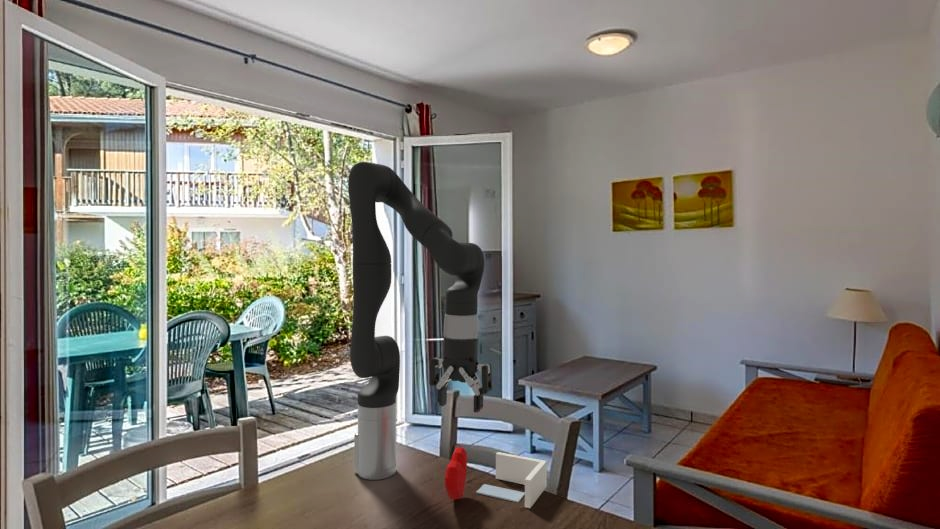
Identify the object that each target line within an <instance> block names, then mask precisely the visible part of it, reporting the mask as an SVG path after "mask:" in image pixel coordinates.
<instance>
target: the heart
mask: <svg viewBox="0 0 940 529" xmlns="http://www.w3.org/2000/svg"><path fill="white" fill-rule="evenodd" d="M467 466H468V452H467V451H466V450H465V447H463V446H457V447H456V448H455V449H454V451H453V453H452V455H451V459H450V462H449V463H448V464H447V467H446V469H445V476H444V486H445V490H446V494H447V496H448V497H449V499H450V500H453V501H454V500H461V499H462V498H463V497H464V492H465V486H466V479H467Z"/></svg>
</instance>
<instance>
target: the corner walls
mask: <svg viewBox="0 0 940 529" xmlns="http://www.w3.org/2000/svg"><path fill="white" fill-rule="evenodd" d="M547 465H548V462H547V460H544V459H543V460H542V459H538V458H532V457H526V456H521V455H517V454H511V453H504V452H500V451H497V452H496V453H495V479H496V480H500V481H501V480H502V481H505V482H510V483H516V484H520V485H524V493H525V495H524V508H527V509H531V507H533V505H534V504H535V503H536V502H537V500H538V499H539V498H540V496H541V494H543V493H544V491H545V489H546V488H547V480H548V478H547V467H548V466H547Z"/></svg>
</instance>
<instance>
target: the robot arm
mask: <svg viewBox="0 0 940 529" xmlns="http://www.w3.org/2000/svg"><path fill="white" fill-rule="evenodd" d="M347 181H348V182H347V183H348V185H347V186H348V187H347V188H348V199H349V208H350V219H351V231H352V235H351V236H352V288H353V289H352V291H353V293H352V295H353V296H352V302H353V303H352V324H351V332H350V333H351V335H350V347H349V358H350V360H349V361H350V365H351V366H350V367H351V368H352V371H353V373H354V374H355V376H356V377H358V378H360V379H369V378H371V379H370V381H368V382H367V384H366V385H365V386H364V387H362V388H361V389H360V390H359V391H358V393H357V432H356V433H355V434H354V439H353V440H354V443H353V444H354V445H353V446H354V448H353V449H354V474H357V475H358V476H359V477H360V478H362V479H364V480H371V481H374V480H375V481H376V480H378V481H379V480H383V479H387V478H390V477H392V476H393V475H394V476H395V474H396V472H397V394H398V392H399V388H400V371H401V353H400V348H399V345H398V343H397V341H396V340H395V339H394V337H392V336H390V335H379V336H376V322H377V319H378V318H377V317H378V315H379V312H380V310H381V308H382V305H383V303H384V302H385V300H386V298H387V295H388V293H389V291H390V289H391V284H392V255H391V251H390V249H389V247H388V245H387V242H386V240H385V237H384V236H383V234H382V232H381V230H380V228H379V224H378V220H377V211H376V208H377V207H376V203H383V204H385V205H386V206H388V207H390V208H392V209H393V210H394V211H395V212H396V213H398V214H399V215H400V217H401V220H402V222H403V224H404V226H405V229H406V230H407V232H408V233H409V234H410V235H411V236H412V237H413V238H414V239H415V240H417V241H418V242H419V244H420V245H421V246H423V247H424V248H425V249H426V250H427V252H428V253H429V255H430V256H431V258H432V259H433V261H434V262H435V264H436V265H437V266H438V267H439V268H440V269H441V270H442V271H443V272H445V273H446V274H448V275H451V276H455V281H454V284H453V285H452V286H450V287H449V288H447V289H446V292H445V296H444V297H445V302H444V303H445V304H444V308H445V309H444V322H443V350H442V351H443V354H442V355H443V356H444V357H443V358H441V357H440V356H437V357H434V358H432V359H431V360H430V370H429V385H430V386H434V387H435V388H436V389H437V391H436V392H437V393H436V395H437V396H436V397H437V398H436V401H437V403H438V405H439V406H440V407H444V406H446V405H447V401H448V399H447V395H448V393H447V392H448V388H447V385H448V384H449V382H451V381H452V382H460V383H466V384H467V386H468V387H469V388H471V390H472V391H473V393H474V395H473V412H474V413H479V412H481V410H482V409H483V407H484V395H487V394H488V393H490V392H491V391H492V390H493V379H492V378H493V374H492V365H491V364H490V363H485V364H480V363H479V361H478V356H479V332H480V331H479V320H478V319H479V318H478V304H479V302H478V299H479V298H478V297H479V296H478V294H479V290H480V287H481V284H482V279H483V274H484V271H485V270H484V269H485V256H484V252H483V250H482V248H481V247H480V246H479V245H477V244H476V243H473V242H458V241H457V240H455V239H454V238H453V231H452V229H451V227H450V226H448V224H446V222H444V221H443V220H442V219H441V218H440V217H438V216H437V215H436V214H435V213H433V212H432V211H431V210H430V209H429V208H428V207H426V206H425V205H424V204H423V203H422V202H421V201H420V200H419V199H418V198H417V196H415V194H414V193H413V192H412V191H411V190H410V188H408V187H407V185H406V184H405V182H404V181H403V180H402V179H401V177H400V176H399V175H398V174H397V173H396V171H394V169H392V168H391V167H390V166H387V165H384V164H379V163H375V162H370V161H358V162H356V163H354V165H353V166H352V167H351V168H350V171H349V174H348V180H347ZM441 368H443V369H444V371H445V372H444V373H443V375H442V376H441ZM478 371H479V375H481V379H480V377H479V376H478V374H477V372H478Z"/></svg>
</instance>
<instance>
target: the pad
mask: <svg viewBox="0 0 940 529" xmlns="http://www.w3.org/2000/svg"><path fill="white" fill-rule="evenodd" d="M475 494H478V495H484V496H488V497H491V498H497V499H501V500H505V501H510V502H514V503H519V502H520V501H521V500H522V498H523V497H525V491H523V492H522V491H519V490H515V489H510V488H504V487H500V486H495V485H492V484H491V485H490V484H486V483H484V484H482V485H481V486H480V488H479V489H477V490H476V491H475Z"/></svg>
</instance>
